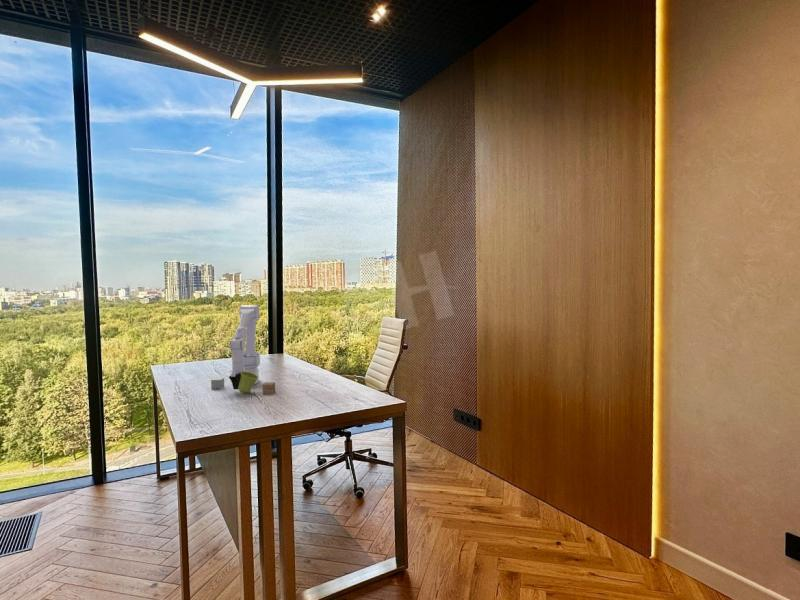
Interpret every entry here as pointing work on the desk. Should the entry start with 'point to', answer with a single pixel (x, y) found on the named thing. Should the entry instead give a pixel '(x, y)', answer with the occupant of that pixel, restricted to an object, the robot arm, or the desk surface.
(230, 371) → the robot arm
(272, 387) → the walnut block
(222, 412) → the desk surface
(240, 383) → the plant pot
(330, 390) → the desk surface
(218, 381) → the slate block
